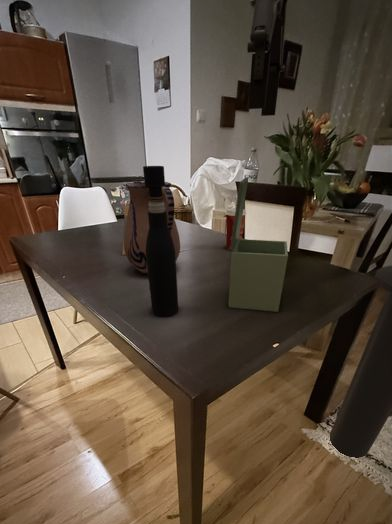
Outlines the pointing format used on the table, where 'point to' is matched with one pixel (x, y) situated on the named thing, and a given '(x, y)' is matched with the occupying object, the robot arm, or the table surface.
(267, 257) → the bin
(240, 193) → the bin lid
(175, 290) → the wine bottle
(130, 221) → the ceramic pitcher
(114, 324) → the table surface
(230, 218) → the paper cup
